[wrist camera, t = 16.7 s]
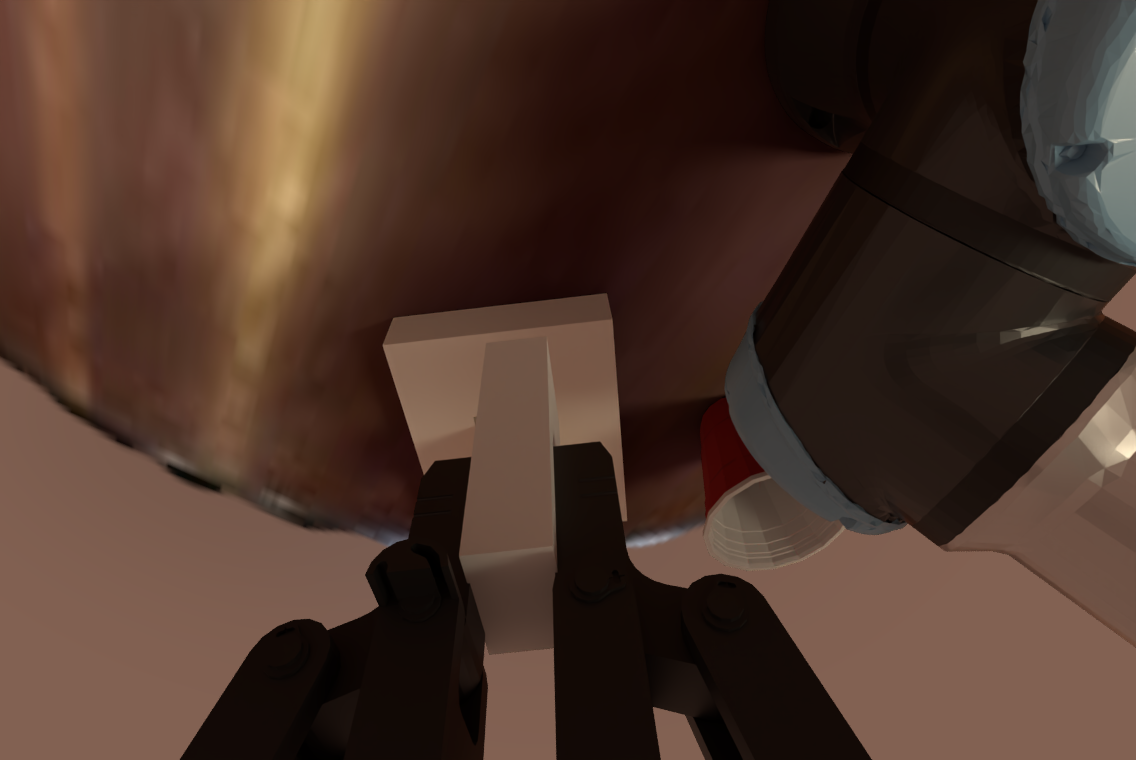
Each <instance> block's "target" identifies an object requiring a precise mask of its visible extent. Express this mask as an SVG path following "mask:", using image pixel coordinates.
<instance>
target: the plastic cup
mask: <svg viewBox="0 0 1136 760" xmlns="http://www.w3.org/2000/svg"><path fill="white" fill-rule="evenodd" d="M700 427H701V428H700V439H701V448H702V449H701V460H702V469H703V479H704V489H705V498H706V499H705V507H706V513H705V516H706V522H705V526H704V530H703V538H704V541H705V544H706V547H707V550H708V553H709V554H710V555H711V556H712V557H714V558H715V559H717V560H718V561H719V562H720V563H722V564H723V565H725V566H729V567H733V568H737V569H742V570H746V571H751V570H752V571H753V570H770V569H776V568H780V567H783V566H786V565H790V564H793V563H797V562H800V561H802V560H804V559H806V558H808V557H810V556H811V555H813V554H815V553H817V552H819V551H820V550H822V549H824V548H826V547H827V546H828V545H829V544H830V543H831V542H832V541H833V540H834V539H835V538H836V537H837V536H838V535H839V534H841V533H842V531H844V530H845V527H844V526H843V525H842V523H841V522H840V521H839V520H836V521H832V522H830V521H827V520H825V519H823V518H822V517H820V516H818V515H817V514H815V513H813V512H812V511H810V510H809V509H807V508H806V507H805V506H803V505H802V504H800V503H799V502H798V501H796V500H795V499H794V498H793V497H792V496H790V495H789V494H788V493H787V492H785V491H784V490H783V489H782V488H781V487H780V486H779V485H778V484H777V483H776V482H775V481H774V480H773V479H772V478H771V477H770V476H769V475H768V474H767V473H766V472H765V470H764V469H763V468H762V467H761V466H760V465H759V464H758V462H757V461H756V460H755V459H754V457H753V456H752V455H751V453H750V452H749V450H748V449H747V448H746V446H745V444H744V443H743V441H742V440H741V438H740V436H739V434H738V432H737V430H736V428H735V426H734V424H733V422H732V420H731V417H730V414H729V404H728V402H727V399H726V397H725V398H722V399H720V400H718V401H717V402H715V403H714V404H712V405H711V406H709V408H708V409H707V411H706V412H705V413H704V415H703V416H702V421H701V426H700Z"/></svg>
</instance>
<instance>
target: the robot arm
mask: <svg viewBox="0 0 1136 760" xmlns="http://www.w3.org/2000/svg"><path fill="white" fill-rule="evenodd" d="M765 55H766V63H767V69H768V73H769V77H770V81H771V84H772V87H773V89H774V92H775V94H776V96H777V98H778V100H779V102H780V104H781V105H782V107H783V108H784V110H785V111H786V113H787V114H788V115H789V116H790V118H791V119H792V120H793V121H794V122H795V123H796V124H797V125H798V126H799V127H801V128H802V129H803V130H804V131H806V132H807V133H809V134H810V135H812V136H813V137H815V138H816V139H818V140H820V141H821V142H823V143H825V144H827V145H829V146H831V147H833V148H836V149H838V150H841V151H845V152H849V153H853V155H852V157H851V158H850V160H849V162H848V163H847V165H846V167H845V168H844V169H843V171H842V172H841V173H840V175H839V177H838V178H837V180H836V182H835V183H834V185H833V187H832V188H831V190H830V192H829V193H828V195H827V197H826V198H825V200H824V202H823V203H822V205H821V207H820V208H819V210H818V212H817V213H816V215H815V217H814V218H813V220H812V222H811V223H810V225H809V227H808V228H807V230H806V232H805V233H804V235H803V237H802V239H801V240H800V242H799V244H798V245H797V247H796V249H795V250H794V252H793V254H792V255H791V257H790V259H789V260H788V262H787V264H786V265H785V267H784V269H783V270H782V272H781V274H780V275H779V277H778V279H777V280H776V282H775V284H774V285H773V287H772V288H771V290H770V292H769V293H768V295H767V296H766V298H765V300H764V301H762V302H760V303H759V304H758V306H757V307H756V308H755V310H754V312H753V313H752V315H751V316H750V319H749V323H748V328H747V331H746V333H745V335H744V337H743V339H742V341H741V343H740V345H739V347H738V349H737V351H736V353H735V354H734V356H733V358H732V360H731V362H730V364H729V367H728V369H727V373H726V378H725V394H726V399H727V402H728V404H729V414H730V417H731V420H732V422H733V424H734V426H735V428H736V430H737V432H738V434H739V436H740V438H741V440H742V441H743V443H744V444H745V446H746V448H747V449H748V450H749V452H750V453H751V455H752V456H753V457H754V459H755V460H756V461H757V462H758V464H759V465H760V466H761V467H762V468H763V469H764V470H765V472H766V473H767V474H768V475H769V476H770V477H771V478H772V479H773V480H774V481H775V482H776V483H777V484H778V485H779V486H780V487H781V488H782V489H783V490H784V491H785V492H787V493H788V494H789V495H790V496H792V497H793V498H794V499H795V500H796V501H798V502H799V503H800V504H802V505H803V506H805V507H806V508H807V509H809V510H810V511H812V512H813V513H815V514H817V515H818V516H820V517H822V518H823V519H825V520H827V521H830V522H832V521H836V520H839V521H840V522H841V523H842V525H843V526H844V527H845V528H846V529H847V530H851V531H854V532H857V533H861V534H867V535H879V534H884V533H888V532H891V531H893V530H898V529H901V528H903V527H905V526H906V525H907V524H909V525H911V526H912V527H913V528H915V529H916V530H917V531H919V532H920V533H921V534H923V535H924V536H926V537H927V538H928V539H929V540H931V541H932V542H933V543H935V544H936V545H937V546H939V547H940V548H941V549H943V550H944V551H947V552H948V551H949V552H952V551H993V552H998V553H1003V554H1007V555H1009V556H1011V557H1012V558H1013V559H1015V560H1016V561H1018V562H1019V563H1020V564H1022V565H1023V566H1024V567H1026V568H1027V569H1028V570H1030V571H1031V572H1033V573H1034V574H1035V575H1037V576H1038V577H1039V578H1041V579H1042V580H1044V581H1045V582H1046V583H1048V584H1049V585H1050V586H1052V587H1053V588H1055V589H1056V590H1057V591H1059V592H1060V593H1061V594H1063V595H1064V596H1066V597H1067V598H1068V599H1070V600H1071V601H1072V602H1074V603H1075V604H1077V605H1078V606H1079V607H1081V608H1082V609H1083V610H1085V611H1086V612H1087V613H1089V614H1090V615H1092V616H1093V617H1094V618H1096V619H1097V620H1099V621H1100V622H1101V623H1103V624H1104V625H1105V626H1107V627H1108V628H1109V629H1111V630H1112V631H1114V632H1115V633H1116V634H1118V635H1119V636H1120V637H1122V638H1123V639H1125V640H1126V641H1127V642H1129V643H1130V644H1132V645H1133V646H1134V647H1135V648H1136V332H1135V331H1133V330H1132V329H1130V328H1128V327H1126V326H1124V325H1122V324H1120V323H1118V322H1116V321H1114V320H1112V319H1110V318H1109V317H1107V316H1105V315H1103V313H1102V310H1103V308H1104V307H1105V306H1106V305H1107V304H1108V303H1109V301H1111V299H1112V298H1113V297H1114V296H1115V295H1116V294H1117V293H1118V292H1119V291H1120V290H1121V289H1122V287H1123V286H1124V285H1125V284H1126V283H1127V282H1128V281H1129V280H1130V279H1131V278H1132V277H1133V276H1134V275H1135V274H1136V0H770V1H769V6H768V11H767V17H766V26H765ZM365 576H366V578H367V580H368V582H369V584H370V587H371V589H372V591H373V594H374V595H375V598H376V600H377V602H378V605H379V606H378V607H377V608H376V609H374V610H373V611H372V612H370V613H368V614H366V615H364V616H362V617H360V618H358V619H355V620H353V621H350V622H347V623H345V624H342V625H340V626H337V627H335V628H332V629H330V630H326V628H325V627H324V626H323V625H322V623H319V622H317V621H313V620H311V619H301V620H293V621H290V622H287V623H285V624H282V625H280V626H277V627H276V628H275V629H273V630H272V631H270V632H269V633H268V634H266V635H265V636H263V637H262V638H261V640H260V641H259V642H258V643H257V644H256V645H255V646H254V647H253V649H252V650H251V651H250V652H249V654H248V656H247V657H246V659H245V660H244V662H243V663H242V665H241V666H240V668H239V669H238V671H237V673H236V674H235V676H234V677H233V679H232V680H231V682H230V683H229V685H228V686H227V688H226V689H225V691H224V693H223V694H222V695H221V697H220V699H219V700H218V702H217V703H216V705H215V706H214V708H213V709H212V711H211V712H210V714H209V716H208V717H207V719H206V720H205V722H204V723H203V725H202V726H201V728H200V729H199V731H198V732H197V734H196V736H195V737H194V738H193V740H192V742H191V743H190V745H189V746H188V748H187V749H186V751H185V752H184V754H183V755H182V757H181V758H180V760H483V756H484V740H485V723H486V708H487V692H488V684H487V677H486V672H485V669H484V666H483V659H484V645H485V643H486V646H487V649H488V652H489V654H490V655H491V654H501V653H511V652H520V651H530V650H540V649H550V648H554V675H555V713H556V714H555V717H556V755H557V756H556V757H557V758H556V759H557V760H661V758H660V752H659V745H658V739H657V732H656V726H655V719H654V713H653V707H656V708H660V709H664V710H668V711H672V712H676V713H680V714H684V715H685V716H686V718H687V720H688V722H689V725H690V727H691V729H692V731H693V734H694V736H695V738H696V740H697V743H698V745H699V747H700V749H701V751H702V754H703V756H704V758H705V760H872V759H871V758H870V756H869V755H868V753H867V752H866V750H865V749H864V747H863V746H862V744H861V743H860V741H859V740H858V738H857V737H856V735H855V734H854V732H853V731H852V729H851V727H850V726H849V724H848V723H847V721H846V720H845V719H844V717H843V715H842V714H841V712H840V711H839V709H838V708H837V706H836V705H835V703H834V702H833V700H832V699H831V698H830V696H829V694H828V693H827V691H826V690H825V689H824V687H823V685H822V684H821V682H820V681H819V679H818V678H817V676H816V675H815V673H814V672H813V670H812V669H811V667H810V666H809V664H808V663H807V661H806V660H805V658H804V657H803V655H802V653H801V652H800V650H799V649H798V648H797V646H796V644H795V643H794V641H793V640H792V638H791V637H790V635H789V634H788V633H787V631H786V629H785V628H784V626H783V625H782V623H781V622H780V620H779V619H778V617H777V616H776V614H775V613H774V611H773V610H772V608H771V607H770V605H769V604H768V602H767V601H766V599H765V598H764V596H763V595H762V594H761V593H760V592H759V591H758V590H757V589H756V588H755V587H754V586H753V585H752V584H750V583H748V582H746V581H744V580H743V579H741V578H739V577H735V576H730V575H724V574H716V575H709V576H704V577H702V578H701V579H699V580H697V581H695V582H693V583H692V584H691V585H690V587H689V588H688V589H687V588H682V587H677V586H671V585H666V584H663V583H660V582H656V581H654V580H651V579H650V578H648V577H646V576H644V575H643V574H642V573H641V572H640V571H639V570H637V569H636V568H635V566H634V565H633V563H632V562H631V561H630V559H629V556H628V552H627V549H626V542H625V536H624V529H623V523H622V516H621V510H620V503H619V497H618V490H617V484H616V478H615V471H614V465H613V458H612V456H611V454H610V453H609V452H608V451H607V449H606V448H605V447H604V446H603V445H602V443H601V442H600V441H598V442H589V443H580V444H571V445H562V446H560V429H559V418H558V411H557V405H556V398H555V391H554V384H553V377H552V370H551V363H550V356H549V349H548V342H547V336H543V337H535V338H526V339H517V340H508V341H499V342H491V343H486V347H485V355H484V363H483V371H482V379H481V386H480V394H479V402H478V410H477V418H476V426H475V433H474V441H473V449H472V457H466V458H456V459H447V460H438V461H434V462H433V464H432V465H431V467H430V468H429V469H428V471H427V472H426V473H425V475H424V476H423V477H422V479H421V483H420V487H419V492H418V496H417V502H416V506H415V510H414V518H413V519H412V524H411V528H410V533H409V538H408V539H407V540H403V541H399V542H396V543H395V544H393V545H391V546H389V547H388V548H386V549H384V550H383V551H382V552H381V553H380V554H379V555H378V556H377V557H376V558H375V559H374V560H373V561H372V562H371V564H370V566H369V568H368V570H367V572H366V574H365Z"/></svg>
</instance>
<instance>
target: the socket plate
mask: <svg viewBox="0 0 1136 760" xmlns="http://www.w3.org/2000/svg"><path fill="white" fill-rule="evenodd" d="M543 336H547V342H548V349H549V356H550V363H551V370H552V377H553V384H554V391H555V398H556V405H557V411H558V418H559V429H560V446H562V445H571V444H580V443H589V442H598V441H600V442H601V443H602V445H603V446H604V447H605V448H606V449H607V451H608V452H609V453H610V454H611V456H612V458H613V465H614V471H615V478H616V484H617V490H618V497H619V503H620V510H621V516H622V521H627V511H626V498H625V484H624V470H623V457H622V443H621V429H620V416H619V402H618V388H617V375H616V361H615V348H614V334H613V320H612V315H611V310H610V306H609V301H608V296H607V293H604V294H596V295H587V296H578V297H569V298H561V299H552V300H543V301H535V302H526V303H517V304H508V305H500V306H491V307H482V308H473V309H465V310H456V311H447V312H439V313H430V314H421V315H412V316H404V317H395V318H393V320H392V322H391V325H390V327H389V330H388V333H387V335H386V338H385V340H384V343H383V349H384V352H385V355H386V358H387V361H388V364H389V367H390V370H391V374H392V377H393V380H394V383H395V386H396V389H397V392H398V395H399V399H400V402H401V405H402V408H403V411H404V414H405V417H406V420H407V424H408V427H409V430H410V433H411V436H412V439H413V442H414V445H415V449H416V452H417V455H418V458H419V461H420V464H421V467H422V470H423V473H424V475H425V473H426V472H427V471H428V469H429V468H430V467H431V465H432V464H433V462H434V461H438V460H447V459H456V458H466V457H472V449H473V441H474V433H475V426H476V418H477V410H478V402H479V394H480V386H481V379H482V371H483V363H484V355H485V347H486V343H491V342H499V341H508V340H517V339H526V338H535V337H543Z"/></svg>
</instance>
